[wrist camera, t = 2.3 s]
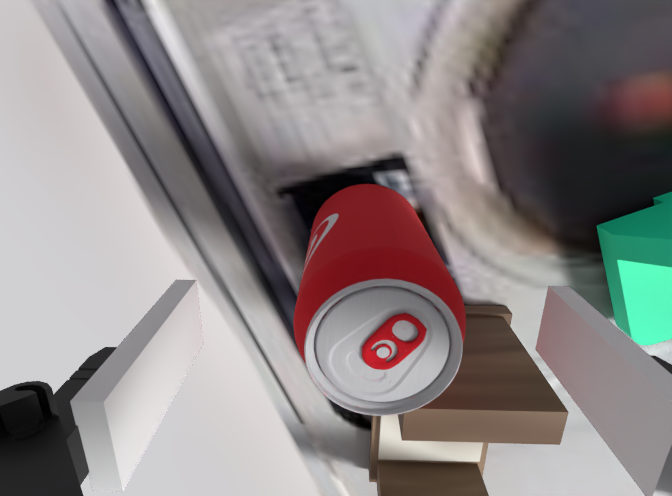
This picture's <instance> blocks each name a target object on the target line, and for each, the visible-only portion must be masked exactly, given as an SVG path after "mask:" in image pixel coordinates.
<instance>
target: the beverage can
mask: <svg viewBox="0 0 672 496" xmlns="http://www.w3.org/2000/svg"><path fill="white" fill-rule="evenodd" d="M465 330H466V314H465V307H464V303H463V299H462V296H461V294H460V291H459V290H458V288H457V286H456V284H455V282H454V280H453V279H452V277H451V275H450V273H449V271H448V270H447V268H446V266H445V264H444V262H443V261H442V259H441V257H440V255H439V254H438V252H437V250H436V248H435V246H434V245H433V243H432V241H431V239H430V237H429V236H428V234H427V232H426V230H425V229H424V227H423V225H422V223H421V221H420V220H419V218H418V216H417V214H416V212H415V211H414V209H413V207H412V206H411V205H410V203H409V202H408V201H407V200H406V199H405V198H404V197H403V196H401V195H400V194H399V193H397V192H396V191H394V190H392V189H390V188H387V187H384V186H381V185H376V184H358V185H353V186H350V187H347V188H344V189H342V190H340V191H338V192H337V193H335V194H334V195H332V196H331V197H330V198H329V199H328V200H327V201H326V202H325V203H324V204H323V205H322V206H321V208H320V209H319V211H318V213H317V215H316V217H315V219H314V223H313V226H312V231H311V236H310V241H309V245H308V250H307V255H306V260H305V264H304V269H303V274H302V279H301V283H300V288H299V293H298V297H297V302H296V307H295V313H294V334H295V339H296V342H297V346H298V349H299V352H300V354H301V356H302V358H303V360H304V362H305V363H306V366H307V369H308V371H309V374H310V376H311V378H312V380H313V382H314V383H315V385H316V386H317V387H318V388H319V390H320V391H321V392H322V393H323V394H324V395H325V396H326V397H327V398H329V399H330V400H332V401H333V402H335V403H336V404H338V405H340V406H341V407H343V408H346V409H348V410H351V411H353V412H356V413H361V414H365V415H374V416H391V415H398V414H403V413H406V412H410V411H413V410H415V409H418V408H420V407H422V406H424V405H426V404H428V403H429V402H431V401H432V400H434V399H435V398H436V397H438V396H439V395H440V394H441V393H442V392H443V391H444V390H445V389H446V388H447V387H448V386H449V384H450V383H451V382H452V380H453V379H454V377H455V375H456V373H457V371H458V369H459V366H460V363H461V358H462V352H463V341H464V337H465Z"/></svg>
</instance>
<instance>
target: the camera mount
mask: <svg viewBox="0 0 672 496" xmlns="http://www.w3.org/2000/svg"><path fill="white" fill-rule="evenodd" d="M653 201H654V206H652V207H649V208H646V209H643V210H640V211H637V212H634V213H631V214H629V215H626V216H623V217H620V218H617V219H614V220H611V221H608V222H605V223H602V224H600V225H597V231H598V236H599V241H600V246H601V251H602V256H603V261H604V266H605V271H606V276H607V282H608V287H609V292H610V297H611V302H612V307H613V312H614V317H615V322H616V324H617V326H618V327H619V328H620V329H621V330H623V331H624V332H625V333H626V334H627V335H628V336H629V337H630V338H632V339H633V340H634V341H635V342H636V343H638V344H641V345H652V344H656V343H659V342H662V341H666V340H669V339H672V192H669V193H666V194H663V195H660V196H657V197H654V198H653Z"/></svg>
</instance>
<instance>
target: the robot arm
mask: <svg viewBox="0 0 672 496" xmlns="http://www.w3.org/2000/svg"><path fill="white" fill-rule="evenodd" d="M202 345H203V335H202V326H201V317H200V308H199V299H198V289H197V280H175V282H174V283H173V284H172V285H171V286H170V288H168V290H167V291H166V292H165V293H164V294H163V295H162V296H161V298H160V299H159V300H158V301H157V302H156V304H155V305H154V306H153V307H152V308H151V309H150V310H149V311H148V313H147V314H146V315H145V316H144V317H143V318H142V320H141V321H140V322H139V323H138V324H137V325H136V326H135V328H134V329H133V330H132V331H131V332H130V333H129V335H128V336H127V337H126V338H125V339H124V340H123V341H122V342H121V344H120V345H119V346H118V347H105V348H103V349H102V350H100V351H98V352H97V353H95V354H93V355H92V356H90V357H89V358H88V359H87V360H86V361H85V362H84V363H83V364H82V365H81V366H80V367H79V369H78V371H76V372H75V373H74V374H73V375H72V376H71V377H70V379H69V380H67V381H66V382H65V383H64V384H63V385H62V386H61V387H60V389H58V391H57V392H56V393H55V394H54V395H53V391H52V388H51V387H50V386H49V385H48V384H47V383H44V382H40V381H33V382H25V383H20V384H16V385H13V386H11V387H9V388H6V389H3V390H1V391H0V496H83V493H82V490H81V487H80V485H81V484H82V482H83V481H84V479H85V478H86V476H87V475H89V479H90V483H91V487H92V491H111V492H123V491H124V489H125V487H126V485H127V483H128V482H129V480H130V478H131V476H132V474H133V472H134V471H135V469H136V467H137V465H138V463H139V461H140V459H141V458H142V456H143V454H144V452H145V450H146V448H147V447H148V445H149V443H150V441H151V439H152V437H153V435H154V434H155V432H156V430H157V428H158V426H159V424H160V423H161V421H162V419H163V417H164V415H165V413H166V412H167V410H168V408H169V406H170V404H171V402H172V401H173V399H174V397H175V395H176V393H177V391H178V389H179V388H180V386H181V384H182V382H183V380H184V378H185V377H186V375H187V373H188V371H189V369H190V367H191V366H192V364H193V362H194V360H195V358H196V356H197V354H198V353H199V351H200V349H201V347H202ZM536 351H537V352H538V353H539V355H540V356H541V357H542V359H543V360H544V361H545V363H546V364H547V365H548V367H549V368H550V369H551V371H552V372H553V373H554V375H555V376H556V377H557V379H558V380H559V381H560V383H561V384H562V385H563V387H564V388H565V389H566V391H567V392H568V393H569V395H570V396H571V397H572V399H573V400H574V401H575V403H576V404H577V405H578V407H579V408H580V409H581V411H582V412H583V413H584V415H585V416H586V417H587V419H588V420H589V421H590V423H591V424H592V425H593V427H594V428H595V429H596V431H597V432H598V433H599V435H600V436H601V437H602V439H603V440H604V441H605V443H606V444H607V445H608V447H609V448H610V449H611V451H612V452H613V453H614V455H615V456H616V457H617V459H618V460H619V461H620V463H621V464H622V465H623V467H624V468H625V469H626V471H627V472H628V473H629V475H630V476H631V477H632V479H633V480H634V481H635V482H636V484H637V485H638V486H639V488H640V489H641V490H642V492H643V493H644V494H645V496H672V365H671V364H669V363H667V362H666V361H664V360H662V359H660V358H658V357H656V356H650V355H649V354H647V353H646V352H645V351H644V350H643V349H642V348H640V347H639V346H638V345H637V344H636V343H635V342H633V341H632V340H631V339H630V338H629V337H628V336H626V335H625V334H624V333H623V332H622V331H621V330H619V329H618V328H617V327H616V326H615V325H614V324H612V323H611V322H610V321H609V320H608V319H607V318H605V317H604V316H603V315H602V314H601V313H600V312H598V311H597V310H596V309H595V308H594V307H593V306H591V305H590V304H589V303H588V302H587V301H586V300H584V299H583V298H582V297H581V296H580V295H579V294H577V293H576V292H575V291H574V290H573V289H572V288H570V287H569V286H549V287H548V291H547V296H546V301H545V306H544V311H543V316H542V321H541V325H540V330H539V335H538V340H537V345H536Z"/></svg>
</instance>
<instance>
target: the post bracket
mask: <svg viewBox="0 0 672 496" xmlns="http://www.w3.org/2000/svg"><path fill="white" fill-rule="evenodd" d="M464 307H465V314H466V330H465V337H464V341H463V352H462V358H461V363H460V366H459V369H458V371H457V373H456V375H455V377H454V379H453V380H452V382H451V383H450V384H449V386H448V387H447V388H446V389H445V390H444V391H443V392H442V393H441V394H440V395H439V396H438V397H436V398H435V399H434V400H432V401H431V402H429V403H428V404H426V405H424V406H422V407H420V408H418V409H415V410H413V411H410V412H406V413H403V414H398V415H391V416H374V415H372V421H371V439H370V457H369V481H370V482H377V491H378V496H489V495H488V493H487V490H486V487H485V484H484V481H483V478H482V475H483V470H484V464H485V459H486V453H487V448H488V443H520V444H559V445H560V442H561V439H562V435H563V431H564V427H565V423H566V420H567V416H568V411H567V409H566V408H565V406H564V405H563V404H562V402H561V401H560V399H559V398H558V396H557V395H556V393H555V392H554V390H553V389H552V387H551V386H550V384H549V383H548V382H547V380H546V379H545V377H544V376H543V374H542V373H541V371H540V370H539V368H538V367H537V365H536V364H535V362H534V361H533V360H532V358H531V357H530V355H529V354H528V352H527V351H526V349H525V348H524V346H523V345H522V343H521V342H520V341H519V339H518V338H517V336H516V335H515V333H514V332H513V330H512V329H511V327H510V324H511V318H512V313H511V312H510V310H509V309H508V308H507V306H477V305H464Z"/></svg>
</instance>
